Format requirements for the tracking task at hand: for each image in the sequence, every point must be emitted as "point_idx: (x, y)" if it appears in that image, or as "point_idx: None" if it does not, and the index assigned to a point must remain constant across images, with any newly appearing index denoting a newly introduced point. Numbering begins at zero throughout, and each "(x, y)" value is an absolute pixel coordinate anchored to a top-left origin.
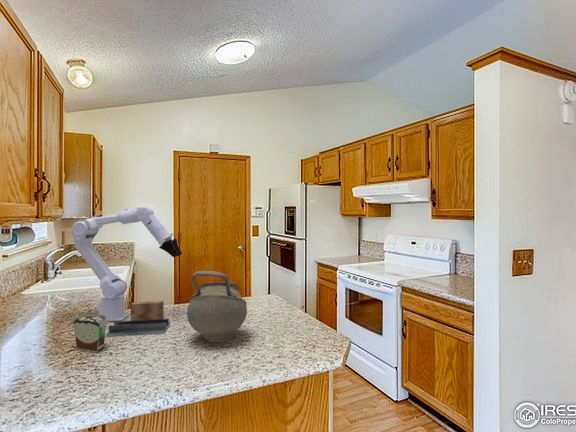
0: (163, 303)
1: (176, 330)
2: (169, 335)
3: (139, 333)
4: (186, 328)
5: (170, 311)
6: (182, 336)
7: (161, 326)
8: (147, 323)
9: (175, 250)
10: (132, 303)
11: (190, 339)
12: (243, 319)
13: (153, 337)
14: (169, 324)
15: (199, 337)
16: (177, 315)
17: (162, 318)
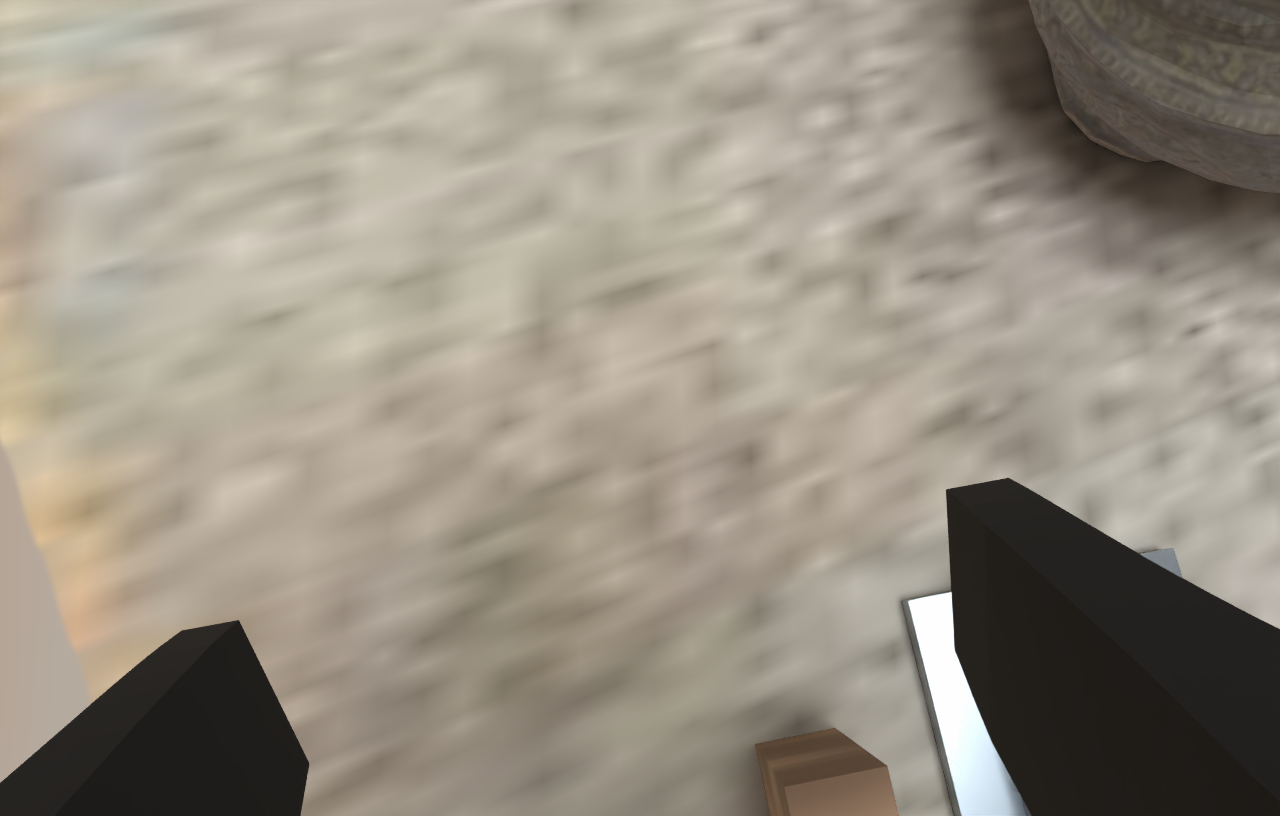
0: (785, 778)
1: (1062, 463)
2: (1198, 476)
3: None
4: (997, 388)
5: (429, 807)
6: (1203, 347)
7: None
8: None
9: (1169, 571)
10: None
11: (1260, 253)
12: None
13: (1270, 607)
14: (938, 594)
15: (1203, 194)
16: (589, 650)
17: (817, 737)
